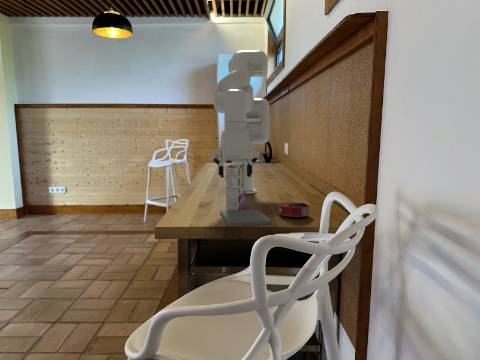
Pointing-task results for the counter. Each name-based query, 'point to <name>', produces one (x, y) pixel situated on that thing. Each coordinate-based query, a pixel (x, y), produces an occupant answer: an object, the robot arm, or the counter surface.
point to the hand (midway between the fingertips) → (235, 176)
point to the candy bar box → (235, 186)
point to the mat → (244, 217)
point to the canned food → (294, 208)
